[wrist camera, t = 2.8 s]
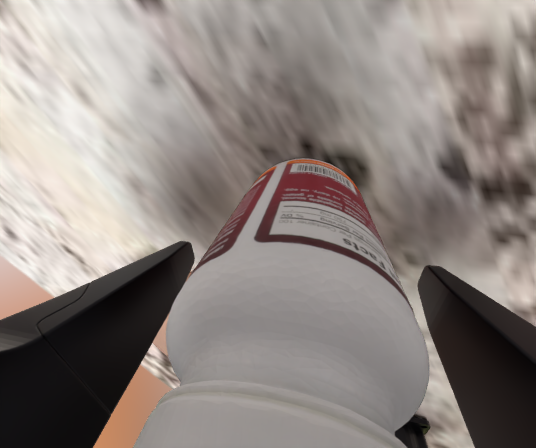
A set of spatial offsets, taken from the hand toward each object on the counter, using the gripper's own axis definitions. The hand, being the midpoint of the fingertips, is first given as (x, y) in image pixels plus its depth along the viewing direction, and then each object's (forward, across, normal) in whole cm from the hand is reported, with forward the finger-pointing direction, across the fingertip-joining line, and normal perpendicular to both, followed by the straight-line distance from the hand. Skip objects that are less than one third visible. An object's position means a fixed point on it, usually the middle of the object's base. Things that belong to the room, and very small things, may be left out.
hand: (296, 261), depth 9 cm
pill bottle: (+4, 0, 0) cm, 4 cm away
